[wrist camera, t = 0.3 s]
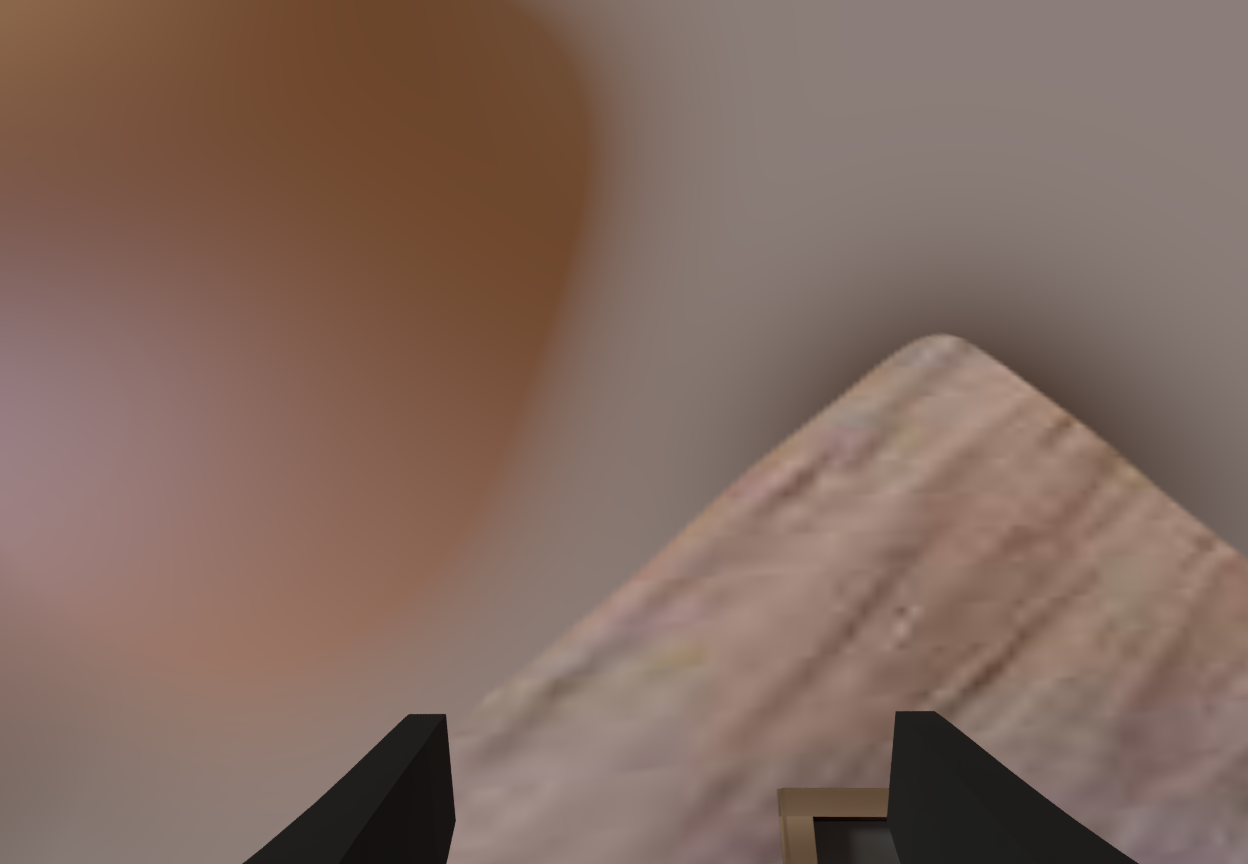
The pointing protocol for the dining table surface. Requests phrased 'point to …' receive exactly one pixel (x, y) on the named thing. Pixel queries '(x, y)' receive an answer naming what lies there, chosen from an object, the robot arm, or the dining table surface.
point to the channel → (835, 826)
